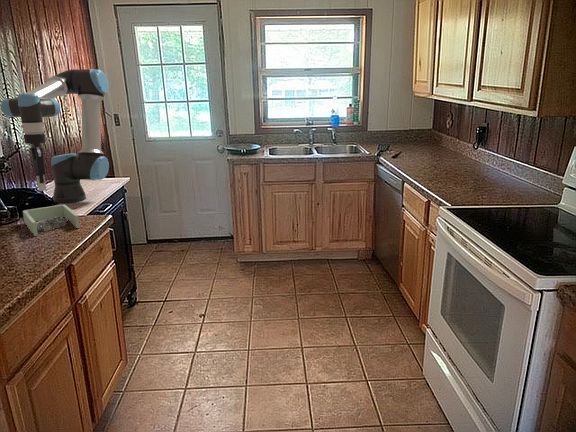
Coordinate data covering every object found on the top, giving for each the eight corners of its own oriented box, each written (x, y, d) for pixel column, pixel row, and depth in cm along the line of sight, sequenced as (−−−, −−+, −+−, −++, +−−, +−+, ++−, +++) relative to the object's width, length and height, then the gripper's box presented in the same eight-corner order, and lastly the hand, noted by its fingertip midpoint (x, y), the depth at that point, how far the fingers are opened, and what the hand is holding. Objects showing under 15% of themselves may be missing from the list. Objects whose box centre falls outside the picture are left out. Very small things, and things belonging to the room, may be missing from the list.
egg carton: (46, 233, 178) (44, 223, 176) (34, 230, 181) (33, 220, 180) (70, 225, 186) (69, 216, 185) (58, 223, 190) (57, 213, 189)
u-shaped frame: (24, 223, 189) (22, 210, 188) (66, 216, 199) (64, 204, 198) (34, 236, 172) (32, 222, 171) (79, 228, 182) (78, 215, 180)
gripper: (20, 132, 183) (29, 189, 190) (26, 135, 174) (35, 194, 180) (41, 131, 188) (49, 186, 194) (47, 133, 178) (55, 191, 184)
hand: (42, 190), depth 187 cm, fingers closed
